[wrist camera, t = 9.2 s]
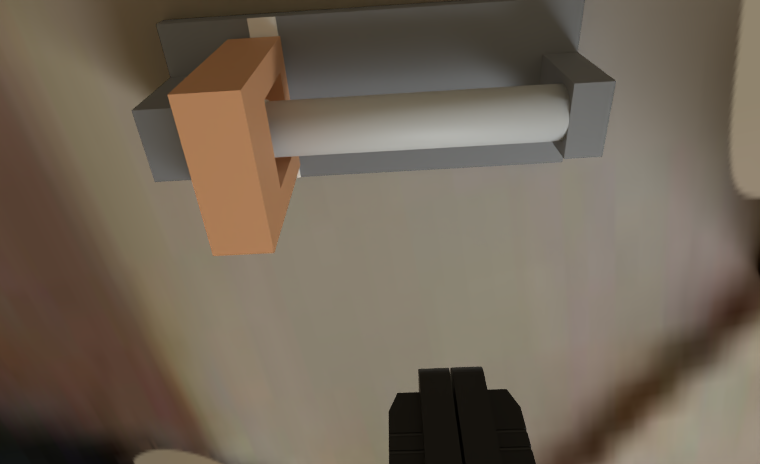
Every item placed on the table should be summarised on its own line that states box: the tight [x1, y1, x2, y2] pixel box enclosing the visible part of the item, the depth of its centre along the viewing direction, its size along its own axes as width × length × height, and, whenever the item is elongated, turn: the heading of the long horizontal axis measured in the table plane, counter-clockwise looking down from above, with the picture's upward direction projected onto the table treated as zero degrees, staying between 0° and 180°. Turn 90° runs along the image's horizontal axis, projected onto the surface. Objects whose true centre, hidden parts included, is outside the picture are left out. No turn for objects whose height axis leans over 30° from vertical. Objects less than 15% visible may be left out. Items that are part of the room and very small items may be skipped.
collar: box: [168, 36, 300, 256], centre depth 27 cm, size 3×8×10 cm, turn 4°
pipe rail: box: [132, 0, 616, 182], centre depth 30 cm, size 24×10×7 cm, turn 94°
